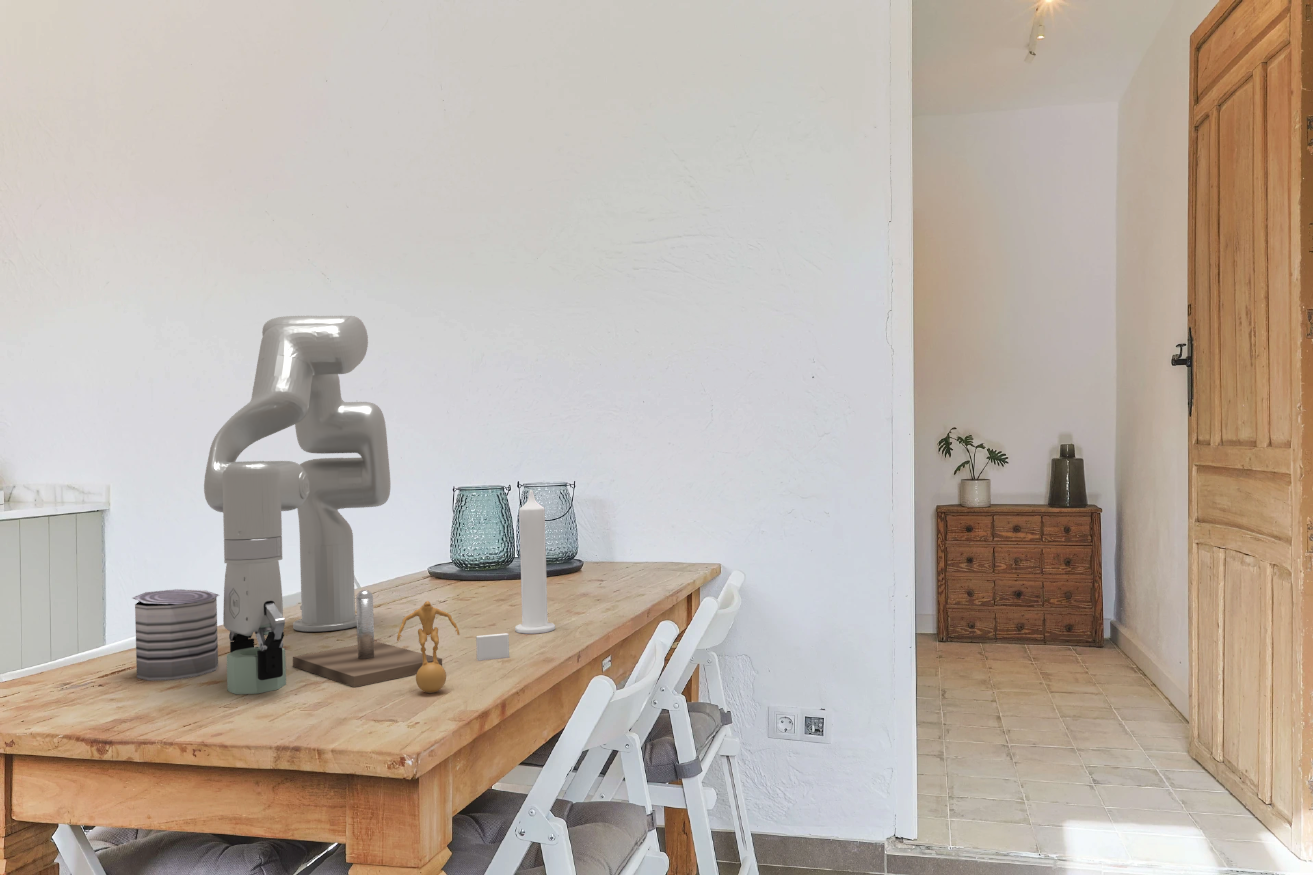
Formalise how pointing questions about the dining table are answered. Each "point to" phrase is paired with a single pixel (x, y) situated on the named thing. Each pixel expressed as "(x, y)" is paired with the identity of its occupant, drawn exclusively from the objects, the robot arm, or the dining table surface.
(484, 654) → the eraser
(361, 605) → the post
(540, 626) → the candle
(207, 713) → the dining table surface
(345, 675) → the stand board
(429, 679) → the figurine
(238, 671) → the bead
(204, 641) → the can
